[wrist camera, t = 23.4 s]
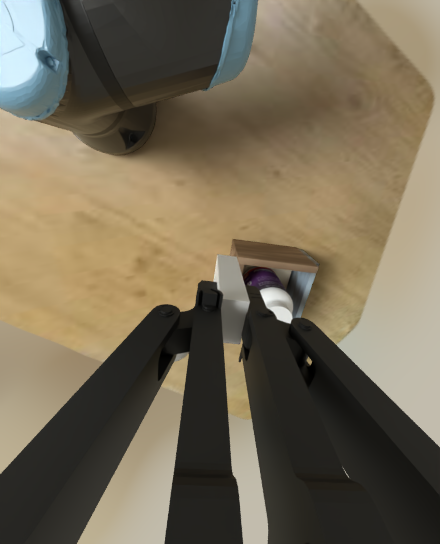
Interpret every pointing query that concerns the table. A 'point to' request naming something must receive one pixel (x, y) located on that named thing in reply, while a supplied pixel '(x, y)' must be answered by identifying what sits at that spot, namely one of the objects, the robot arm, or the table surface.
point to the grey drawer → (294, 285)
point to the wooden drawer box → (271, 256)
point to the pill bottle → (271, 291)
